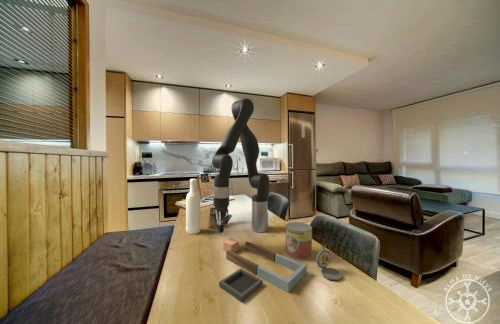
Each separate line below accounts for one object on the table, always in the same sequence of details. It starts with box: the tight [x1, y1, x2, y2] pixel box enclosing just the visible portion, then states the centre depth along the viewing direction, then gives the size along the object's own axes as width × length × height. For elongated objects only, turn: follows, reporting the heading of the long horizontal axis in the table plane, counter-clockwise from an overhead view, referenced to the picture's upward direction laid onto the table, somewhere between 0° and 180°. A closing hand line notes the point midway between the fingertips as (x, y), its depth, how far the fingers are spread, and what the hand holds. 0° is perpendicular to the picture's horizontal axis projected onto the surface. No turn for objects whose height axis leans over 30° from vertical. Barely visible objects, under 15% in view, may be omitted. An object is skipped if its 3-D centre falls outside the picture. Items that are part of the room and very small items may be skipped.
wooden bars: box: [225, 241, 277, 276], centre depth 76 cm, size 13×16×3 cm
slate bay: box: [256, 253, 308, 293], centre depth 66 cm, size 13×12×3 cm
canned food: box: [284, 221, 313, 261], centre depth 81 cm, size 11×11×12 cm
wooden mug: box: [207, 206, 218, 230], centre depth 116 cm, size 9×14×18 cm, turn 143°
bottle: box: [185, 178, 201, 235], centre depth 105 cm, size 8×8×30 cm
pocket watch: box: [315, 242, 343, 281], centre depth 67 cm, size 8×8×10 cm
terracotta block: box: [223, 238, 240, 253], centre depth 84 cm, size 5×5×4 cm
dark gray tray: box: [218, 268, 264, 303], centre depth 60 cm, size 10×10×2 cm
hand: (220, 232), depth 88 cm, fingers closed
